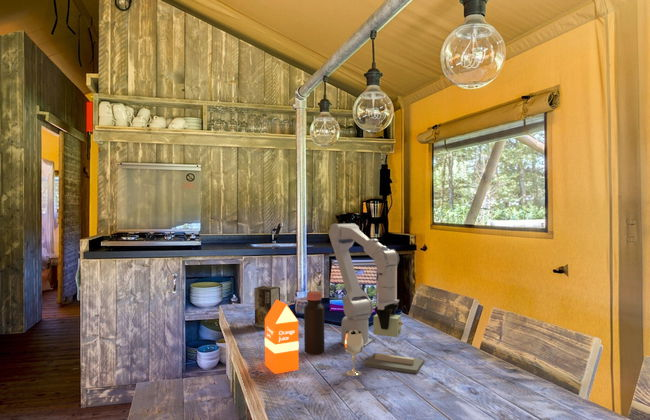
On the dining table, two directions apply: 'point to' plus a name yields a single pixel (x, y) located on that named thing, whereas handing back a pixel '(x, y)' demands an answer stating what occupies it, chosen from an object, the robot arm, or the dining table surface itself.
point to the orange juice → (281, 339)
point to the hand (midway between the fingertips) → (386, 327)
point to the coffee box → (264, 302)
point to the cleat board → (394, 363)
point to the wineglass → (353, 347)
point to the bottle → (314, 324)
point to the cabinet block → (392, 329)
